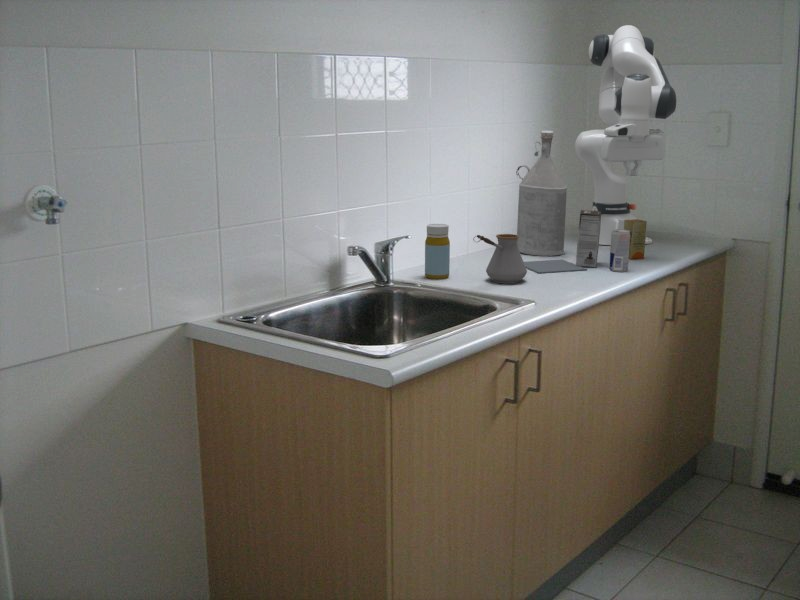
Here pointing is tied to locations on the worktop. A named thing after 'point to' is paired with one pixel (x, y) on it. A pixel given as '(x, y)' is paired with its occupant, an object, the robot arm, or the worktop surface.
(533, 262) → the mat
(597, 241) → the coffee box
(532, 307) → the worktop surface
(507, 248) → the coffee pot
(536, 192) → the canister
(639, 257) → the shoe polish box
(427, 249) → the bottle
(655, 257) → the worktop surface
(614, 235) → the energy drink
